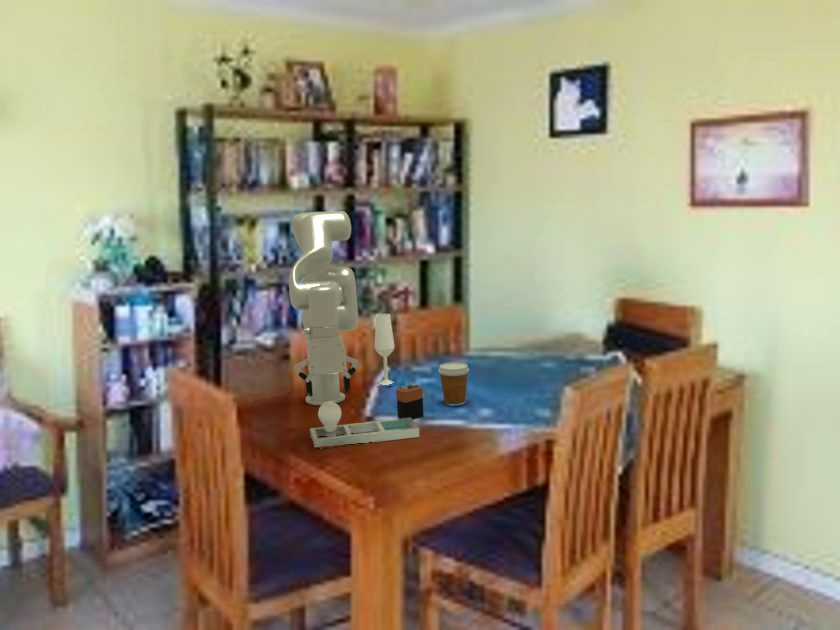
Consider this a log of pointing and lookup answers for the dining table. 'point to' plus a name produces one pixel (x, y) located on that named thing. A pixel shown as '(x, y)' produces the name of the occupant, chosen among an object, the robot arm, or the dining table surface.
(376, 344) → the champagne flute
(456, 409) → the dining table surface
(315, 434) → the rail
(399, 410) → the battery
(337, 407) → the lightbulb
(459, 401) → the disposable coffee cup
